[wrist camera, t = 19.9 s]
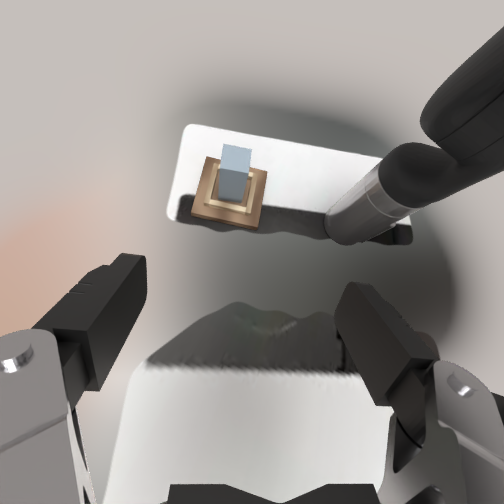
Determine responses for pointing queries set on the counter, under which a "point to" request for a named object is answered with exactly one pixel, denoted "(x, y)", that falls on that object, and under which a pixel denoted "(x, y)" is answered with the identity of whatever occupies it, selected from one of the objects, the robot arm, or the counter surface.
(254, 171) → the base board
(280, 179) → the counter surface
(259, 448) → the counter surface
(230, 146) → the post block
